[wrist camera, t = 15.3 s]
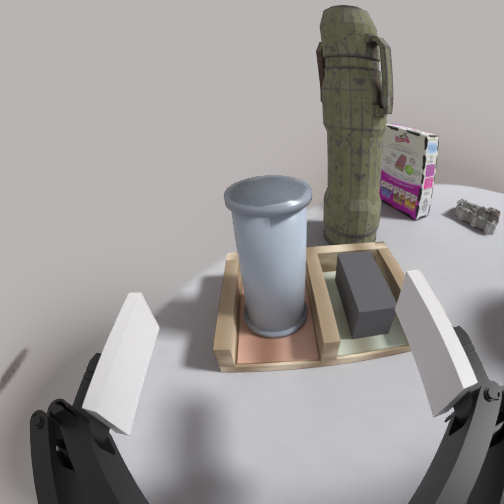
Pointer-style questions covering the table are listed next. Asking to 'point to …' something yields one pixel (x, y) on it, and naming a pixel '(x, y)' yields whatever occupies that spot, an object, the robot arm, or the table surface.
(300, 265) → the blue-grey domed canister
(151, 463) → the table surface
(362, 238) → the thermos
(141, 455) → the table surface
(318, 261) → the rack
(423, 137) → the candy bar box
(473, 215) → the egg carton
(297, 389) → the table surface
